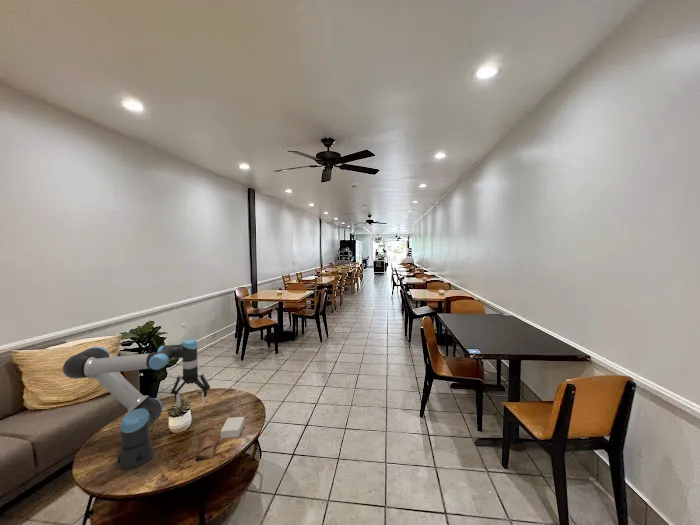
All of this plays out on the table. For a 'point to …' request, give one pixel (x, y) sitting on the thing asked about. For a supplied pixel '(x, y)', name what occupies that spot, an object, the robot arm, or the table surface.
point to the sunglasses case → (207, 448)
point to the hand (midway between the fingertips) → (191, 403)
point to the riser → (232, 427)
